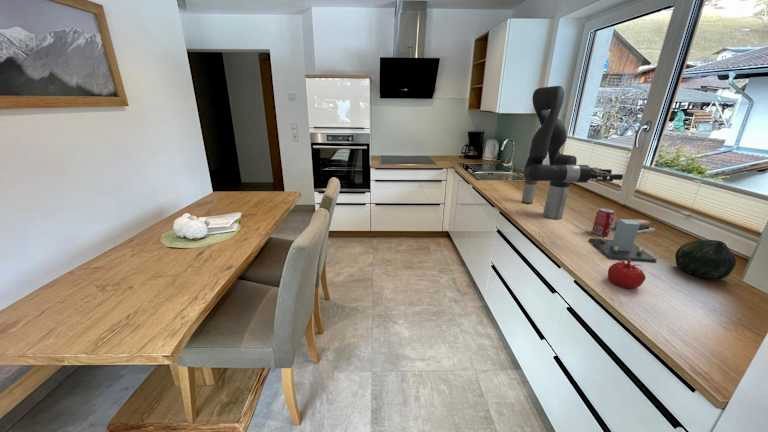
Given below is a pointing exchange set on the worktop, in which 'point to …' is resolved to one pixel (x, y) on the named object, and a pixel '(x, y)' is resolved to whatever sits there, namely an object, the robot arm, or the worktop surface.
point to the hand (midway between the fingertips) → (616, 174)
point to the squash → (706, 259)
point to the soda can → (603, 221)
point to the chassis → (613, 252)
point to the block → (625, 234)
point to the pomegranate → (626, 275)
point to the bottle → (529, 191)
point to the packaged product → (643, 226)
